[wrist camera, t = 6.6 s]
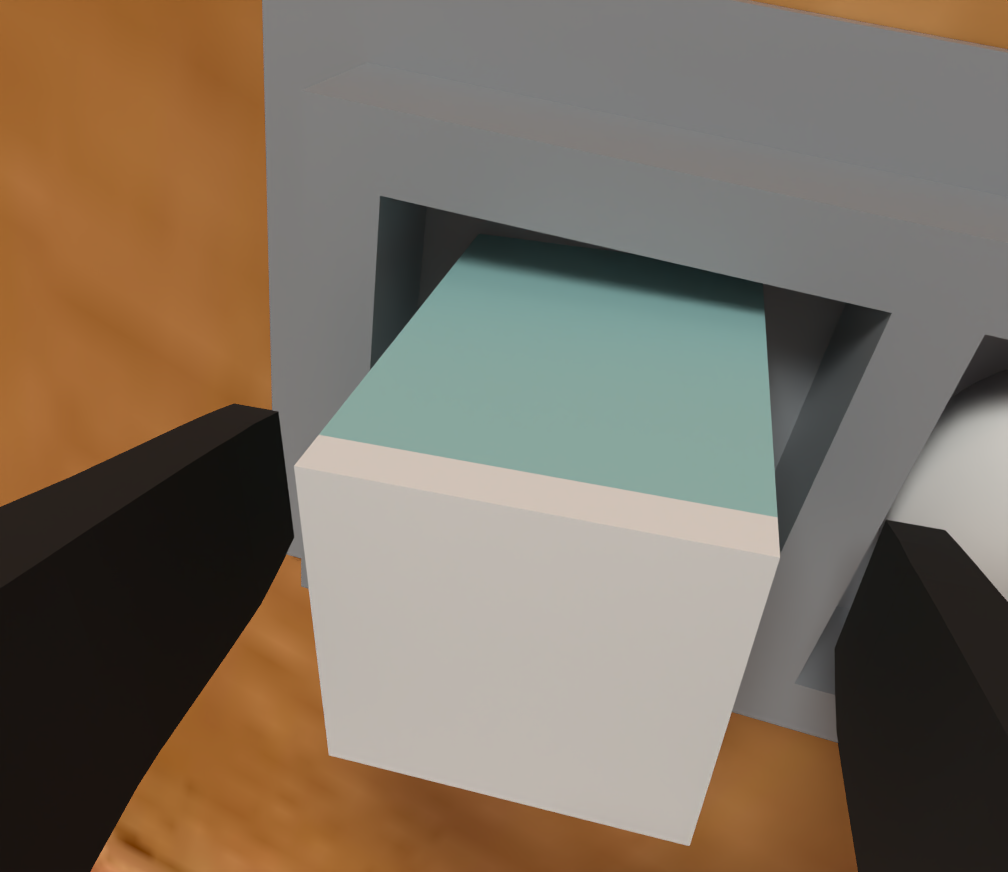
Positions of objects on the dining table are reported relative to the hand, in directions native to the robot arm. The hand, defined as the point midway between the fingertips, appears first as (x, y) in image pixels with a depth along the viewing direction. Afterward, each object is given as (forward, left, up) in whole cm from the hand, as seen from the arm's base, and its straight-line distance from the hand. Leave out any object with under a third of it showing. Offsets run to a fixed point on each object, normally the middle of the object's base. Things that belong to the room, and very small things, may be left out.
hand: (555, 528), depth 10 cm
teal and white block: (0, 0, -3) cm, 4 cm away
